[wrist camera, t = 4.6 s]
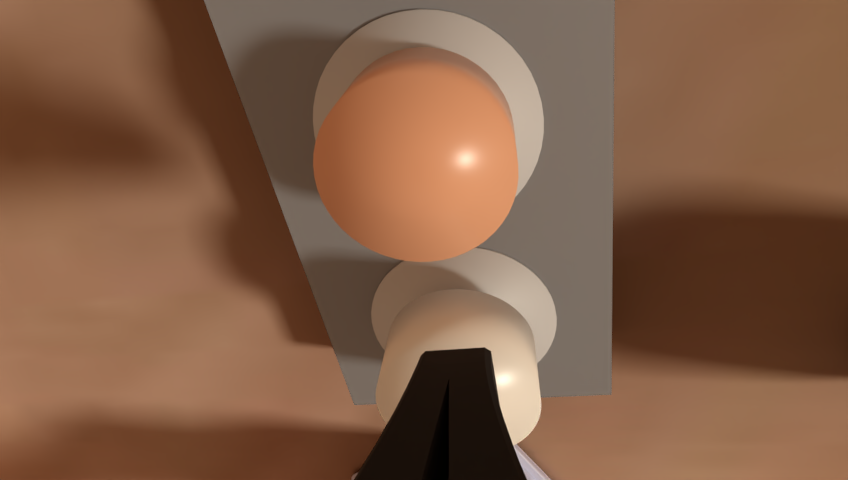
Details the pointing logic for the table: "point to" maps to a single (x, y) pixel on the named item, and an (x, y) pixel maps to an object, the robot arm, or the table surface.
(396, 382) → the cream button
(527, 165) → the console
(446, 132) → the terracotta button
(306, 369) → the table surface
